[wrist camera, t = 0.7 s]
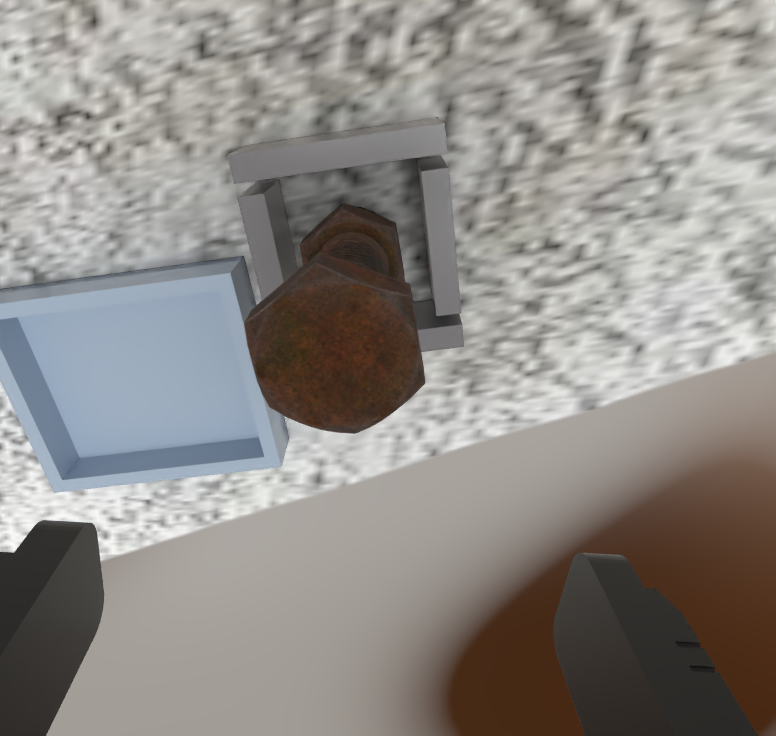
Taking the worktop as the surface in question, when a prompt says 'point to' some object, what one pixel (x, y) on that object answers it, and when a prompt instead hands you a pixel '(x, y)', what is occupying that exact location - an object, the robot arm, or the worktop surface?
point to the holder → (348, 150)
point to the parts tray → (138, 376)
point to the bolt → (339, 328)
